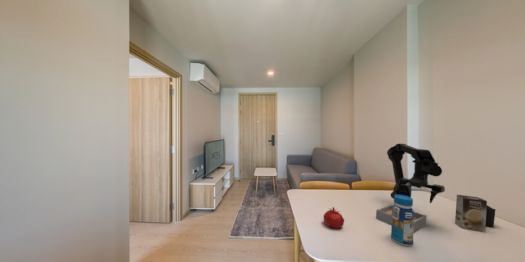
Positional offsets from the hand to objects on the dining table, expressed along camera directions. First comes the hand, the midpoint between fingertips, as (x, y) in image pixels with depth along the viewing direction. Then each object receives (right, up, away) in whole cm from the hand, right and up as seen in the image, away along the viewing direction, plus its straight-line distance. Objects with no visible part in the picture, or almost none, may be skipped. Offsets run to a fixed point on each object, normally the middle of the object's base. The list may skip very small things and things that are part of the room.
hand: (419, 200), depth 104 cm
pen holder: (+35, -14, 0) cm, 37 cm away
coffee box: (+22, -13, -5) cm, 26 cm away
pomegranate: (-51, -11, -7) cm, 53 cm away
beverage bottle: (-25, -12, -20) cm, 34 cm away
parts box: (-12, -12, -1) cm, 16 cm away
